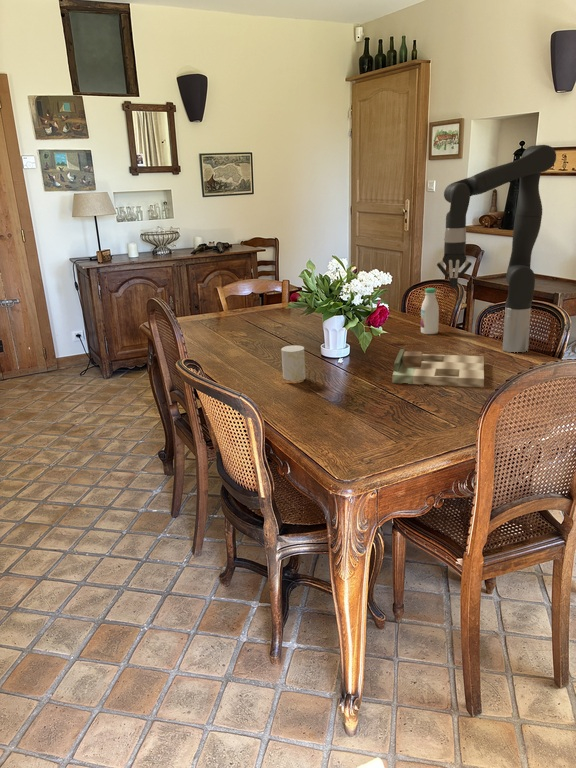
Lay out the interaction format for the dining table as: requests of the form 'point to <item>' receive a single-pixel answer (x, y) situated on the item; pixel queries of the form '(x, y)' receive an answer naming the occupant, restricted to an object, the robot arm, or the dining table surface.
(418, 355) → the walnut block
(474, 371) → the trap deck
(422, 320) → the milk bottle
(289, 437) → the dining table surface
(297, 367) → the grey beige cylinder
